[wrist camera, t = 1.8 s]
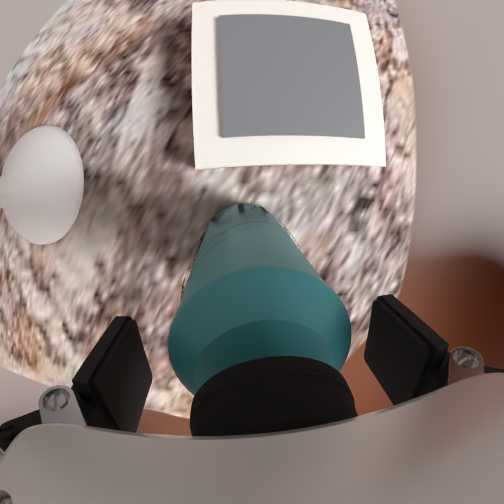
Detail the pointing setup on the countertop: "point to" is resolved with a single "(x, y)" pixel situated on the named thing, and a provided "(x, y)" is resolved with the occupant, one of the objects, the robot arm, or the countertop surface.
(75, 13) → the countertop surface
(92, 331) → the countertop surface
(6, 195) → the flower in vase
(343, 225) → the countertop surface
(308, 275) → the beverage bottle
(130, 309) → the countertop surface
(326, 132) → the white picture frame
